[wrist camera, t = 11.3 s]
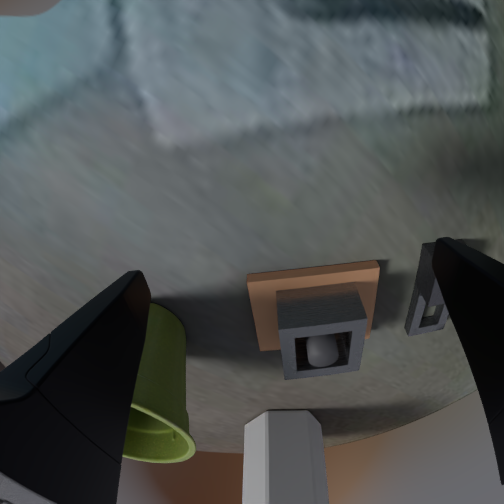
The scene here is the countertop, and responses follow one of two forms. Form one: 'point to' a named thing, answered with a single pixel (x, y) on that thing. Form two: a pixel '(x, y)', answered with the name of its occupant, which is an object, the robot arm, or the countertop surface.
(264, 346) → the tan board with knob
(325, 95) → the countertop surface
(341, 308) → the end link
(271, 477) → the soap bottle
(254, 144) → the countertop surface
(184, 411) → the plant pot
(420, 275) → the dark clasp block
